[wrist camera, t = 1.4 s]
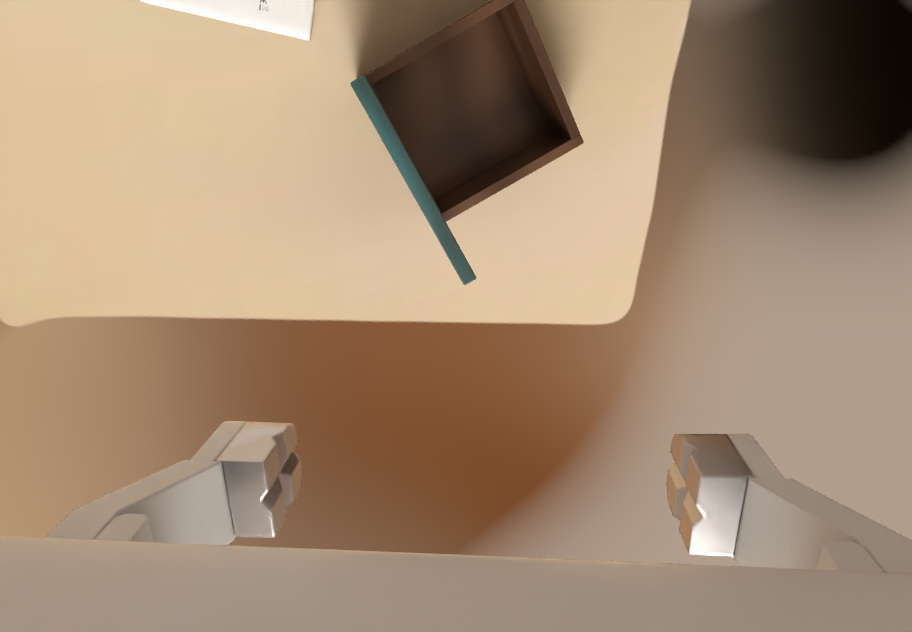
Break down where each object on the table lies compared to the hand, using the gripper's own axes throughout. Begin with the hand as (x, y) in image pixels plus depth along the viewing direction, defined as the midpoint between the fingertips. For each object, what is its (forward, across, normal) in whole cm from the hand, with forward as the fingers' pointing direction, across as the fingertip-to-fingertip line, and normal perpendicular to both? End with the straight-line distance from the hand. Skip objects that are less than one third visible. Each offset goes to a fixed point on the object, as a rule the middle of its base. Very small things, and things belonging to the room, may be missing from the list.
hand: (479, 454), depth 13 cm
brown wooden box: (+44, +3, -6) cm, 45 cm away
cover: (+29, +5, -3) cm, 29 cm away
